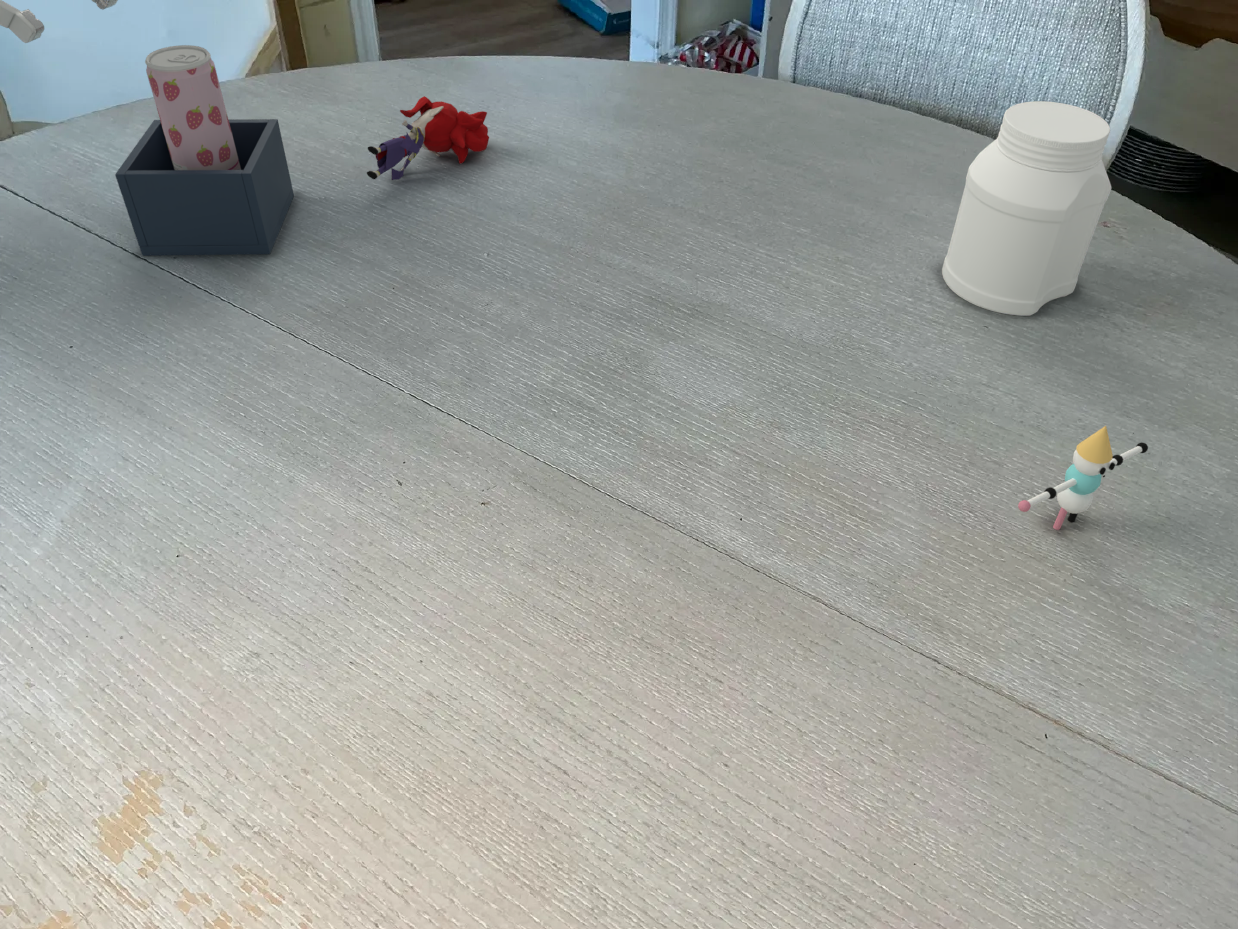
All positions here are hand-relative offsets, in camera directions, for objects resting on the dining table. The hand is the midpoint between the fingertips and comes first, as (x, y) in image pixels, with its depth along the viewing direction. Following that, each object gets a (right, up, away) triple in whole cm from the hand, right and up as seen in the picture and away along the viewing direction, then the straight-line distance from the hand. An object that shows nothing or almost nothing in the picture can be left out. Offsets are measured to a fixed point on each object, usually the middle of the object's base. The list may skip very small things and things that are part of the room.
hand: (75, 18), depth 87 cm
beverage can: (+9, -15, +10) cm, 20 cm away
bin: (+9, -15, +10) cm, 20 cm away
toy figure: (+77, -43, -19) cm, 90 cm away
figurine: (+27, -7, +20) cm, 34 cm away
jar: (+82, -22, +5) cm, 85 cm away
